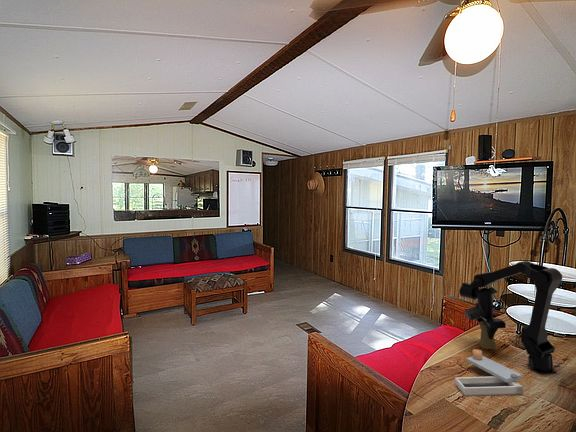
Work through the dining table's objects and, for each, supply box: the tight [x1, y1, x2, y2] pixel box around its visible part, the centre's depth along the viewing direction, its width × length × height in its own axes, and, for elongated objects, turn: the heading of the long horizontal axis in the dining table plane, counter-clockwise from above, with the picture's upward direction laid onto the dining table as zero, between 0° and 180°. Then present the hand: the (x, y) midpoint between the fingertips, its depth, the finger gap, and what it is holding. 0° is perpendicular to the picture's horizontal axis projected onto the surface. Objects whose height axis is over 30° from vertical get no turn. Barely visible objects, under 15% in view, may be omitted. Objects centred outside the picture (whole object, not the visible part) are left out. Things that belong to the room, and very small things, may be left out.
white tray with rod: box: [454, 375, 524, 397], centre depth 111 cm, size 19×7×2 cm, turn 86°
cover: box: [465, 348, 523, 383], centre depth 118 cm, size 18×7×4 cm, turn 16°
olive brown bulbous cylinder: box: [479, 320, 497, 350], centre depth 139 cm, size 6×6×11 cm
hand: (487, 337), depth 139 cm, fingers closed on olive brown bulbous cylinder, 4 cm apart
